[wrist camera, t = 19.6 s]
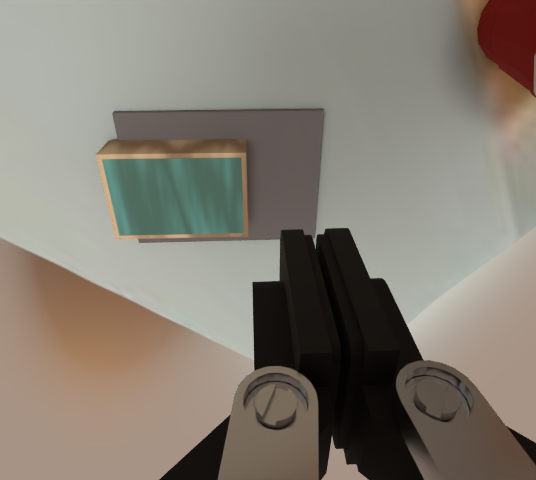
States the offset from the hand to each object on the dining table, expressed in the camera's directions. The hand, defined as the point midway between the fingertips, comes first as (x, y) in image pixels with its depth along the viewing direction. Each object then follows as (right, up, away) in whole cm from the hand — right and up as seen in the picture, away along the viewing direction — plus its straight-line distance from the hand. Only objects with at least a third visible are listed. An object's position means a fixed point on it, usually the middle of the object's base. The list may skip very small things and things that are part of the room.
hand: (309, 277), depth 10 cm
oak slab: (-3, +6, +26) cm, 26 cm away
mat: (-5, +7, +28) cm, 29 cm away
